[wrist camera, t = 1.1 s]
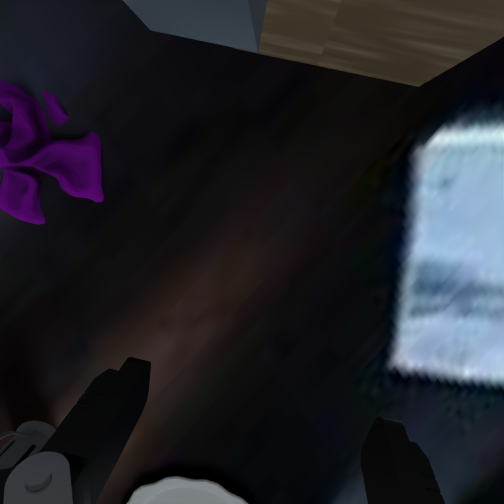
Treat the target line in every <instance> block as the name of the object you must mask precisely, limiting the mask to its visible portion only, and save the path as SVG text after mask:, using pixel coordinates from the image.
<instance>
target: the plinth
mask: <svg viewBox="0 0 504 504" xmlns="http://www.w3.org/2000/svg"><path fill="white" fill-rule="evenodd" d="M502 37H504V0H268V1H267V6H266V12H265V17H264V22H263V27H262V33H261V38H260V43H259V49H258V52H254V51H249V50H244V49H240V48H235V47H234V49H239V50H244V51H249V52H254V53H258V54H263V55H268V56H273V57H278V58H283V59H287V60H292V61H297V62H302V63H307V64H312V65H316V66H321V67H326V68H331V69H336V70H341V71H345V72H350V73H355V74H360V75H365V76H370V77H374V78H379V79H384V80H389V81H394V82H399V83H403V84H408V85H413V86H418V87H419V86H420V85H422V84H424V83H426V82H427V81H429V80H431V79H432V78H434V77H436V76H437V75H439V74H441V73H443V72H444V71H446V70H448V69H449V68H451V67H453V66H454V65H456V64H458V63H460V62H461V61H463V60H465V59H466V58H468V57H470V56H471V55H473V54H475V53H477V52H478V51H480V50H482V49H483V48H485V47H487V46H489V45H490V44H492V43H494V42H495V41H497V40H499V39H500V38H502Z"/></svg>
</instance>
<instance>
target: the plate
mask: <svg viewBox="0 0 504 504" xmlns="http://www.w3.org/2000/svg"><path fill="white" fill-rule="evenodd" d="M126 504H249V503H248V502H247V501H246V500H245V499H244V498H242V497H240V496H238V495H236V494H234V493H232V492H230V491H228V490H227V489H226V488H224V487H223V486H222V485H220V484H219V483H217V482H214V481H211V480H208V479H191V478H187V477H183V476H178V475H177V476H167V477H165V478H163V479H161V480H159V481H157V482H154V483H149V484H145V485H142V486H140V487H139V488H137V489H136V490H135V491H134V492H133V494H132V496H131V498H130V500H129V501H128V502H127V503H126Z"/></svg>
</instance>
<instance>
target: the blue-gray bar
mask: <svg viewBox="0 0 504 504" xmlns="http://www.w3.org/2000/svg"><path fill="white" fill-rule="evenodd" d="M123 1H124V2H125V3H126V4H127V5H128V6H129V7H130V8H131V9H132V11H133V12H134V13H135V14H136V15H137V16H138V17H139V18H140V19H141V20H142V21H143V22H144V23H145V25H146V26H147V27H148V28H149V29H150V30H152V31H157V32H162V33H167V34H172V35H177V36H181V37H186V38H191V39H196V40H201V41H206V42H210V43H215V44H220V45H225V46H230V47H235V48H240V49H244V50H249V51H254V52H258V49H259V43H260V38H261V33H262V27H263V22H264V17H265V12H266V6H267V1H268V0H123Z"/></svg>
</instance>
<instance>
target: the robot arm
mask: <svg viewBox="0 0 504 504" xmlns="http://www.w3.org/2000/svg"><path fill="white" fill-rule="evenodd" d="M150 370H151V362H149V361H145V360H141V359H137V358H133V357H129V358H128V359H127V360H126V361H125V362H124V364H123V365H122V367H121V368H120V370H119V371H117V370H113V369H108V370H106V371H105V372H103V373H102V374H100V375H99V376H98V377H96V378H95V379H94V380H93V382H92V383H91V384H90V386H89V387H88V388H87V390H86V391H85V393H84V394H83V395H82V396H81V397H80V399H79V400H78V401H77V404H76V405H74V407H73V408H72V409H71V411H70V412H69V413H68V415H67V416H66V417H65V419H64V420H63V421H62V423H61V424H60V425H59V427H58V428H57V429H56V431H55V432H54V433H53V435H52V436H51V437H50V439H49V440H48V441H47V443H46V444H45V445H44V446H43V448H42V449H41V450H40V451H39V452H38V453H37V454H35V455H32V456H30V457H29V458H27V459H25V460H24V461H22V462H21V463H20V464H19V465H17V466H14V467H11V468H7V469H0V504H96V502H97V500H98V498H99V496H100V494H101V492H102V490H103V488H104V486H105V484H106V482H107V480H108V478H109V476H110V474H111V472H112V470H113V468H114V466H115V465H116V463H117V461H118V459H119V457H120V455H121V453H122V451H123V449H124V447H125V445H126V443H127V441H128V439H129V437H130V435H131V433H132V431H133V429H134V427H135V425H136V423H137V422H138V420H139V418H140V416H141V414H142V412H143V409H144V407H145V404H146V401H147V397H148V392H149V381H150ZM361 468H362V473H363V478H364V484H365V489H366V495H367V500H368V504H445V502H444V499H443V497H442V495H441V494H440V489H439V486H438V483H437V481H436V480H435V476H434V473H433V470H432V468H431V465H430V462H429V460H428V458H427V457H426V455H425V454H424V453H423V451H422V450H421V448H420V447H419V446H418V444H417V443H415V442H411V441H409V439H408V436H407V433H406V430H405V427H404V425H403V424H402V422H399V421H395V420H391V419H387V418H383V417H377V418H376V419H375V421H374V423H373V425H372V427H371V429H370V431H369V433H368V435H367V438H366V440H365V442H364V444H363V446H362V450H361Z"/></svg>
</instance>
